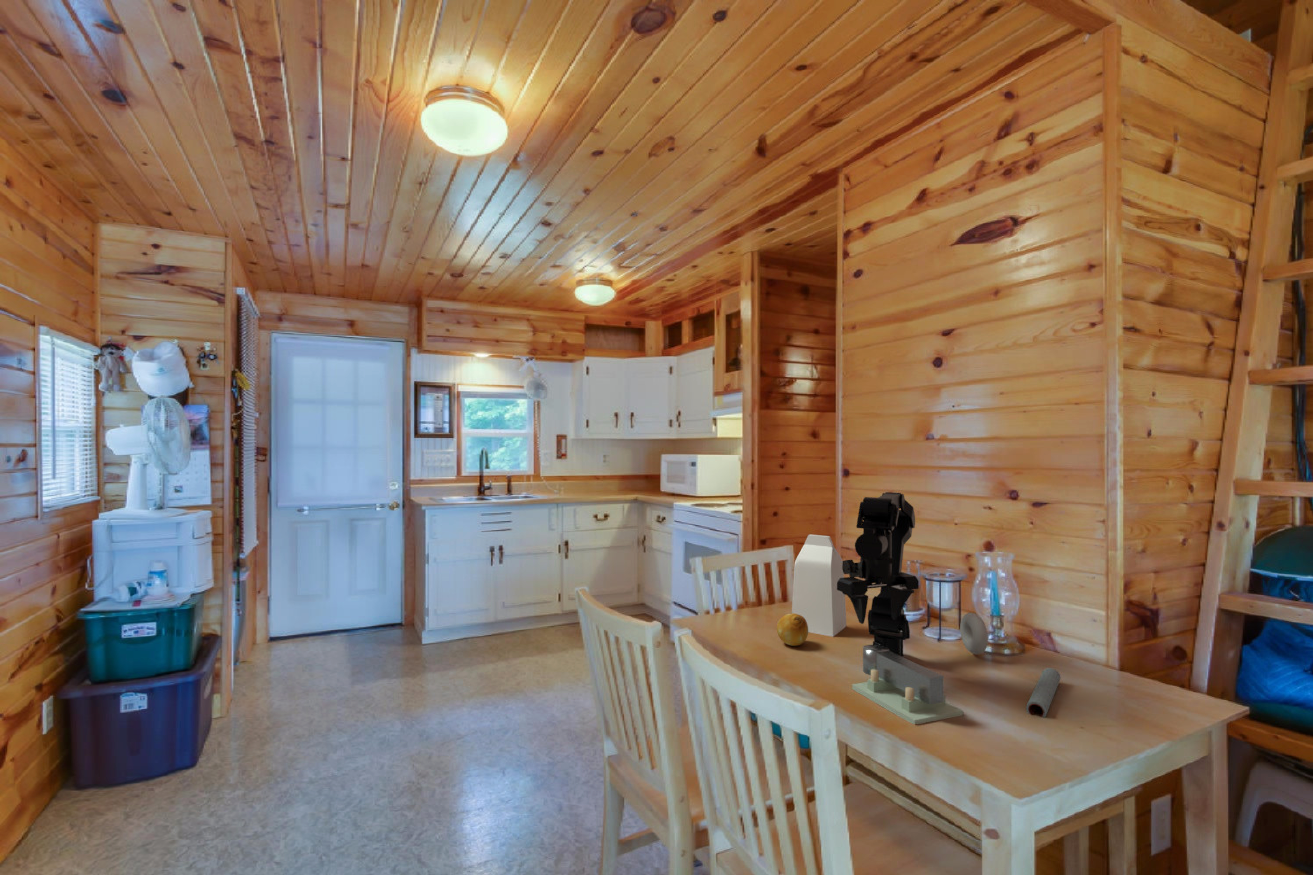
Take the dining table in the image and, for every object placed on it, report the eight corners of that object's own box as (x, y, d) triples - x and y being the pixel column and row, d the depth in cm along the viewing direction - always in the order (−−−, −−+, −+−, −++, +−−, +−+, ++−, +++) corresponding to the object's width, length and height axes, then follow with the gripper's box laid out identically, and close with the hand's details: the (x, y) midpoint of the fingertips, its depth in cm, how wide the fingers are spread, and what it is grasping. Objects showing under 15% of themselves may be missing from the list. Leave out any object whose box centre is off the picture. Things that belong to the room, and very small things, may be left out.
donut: (957, 646, 160) (957, 607, 160) (971, 646, 160) (971, 607, 160) (976, 660, 150) (976, 619, 150) (990, 660, 150) (990, 619, 150)
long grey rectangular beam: (877, 665, 138) (877, 643, 138) (947, 700, 120) (947, 675, 120) (857, 669, 137) (857, 646, 137) (925, 705, 118) (925, 678, 118)
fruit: (812, 650, 158) (812, 618, 158) (779, 649, 158) (779, 618, 158) (804, 639, 166) (805, 609, 166) (774, 639, 166) (774, 609, 166)
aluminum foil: (1042, 681, 139) (1042, 665, 139) (1078, 688, 135) (1078, 673, 134) (1025, 717, 121) (1025, 699, 121) (1066, 727, 117) (1066, 709, 117)
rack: (897, 681, 137) (897, 658, 137) (963, 715, 121) (963, 689, 121) (852, 688, 133) (852, 665, 133) (914, 725, 116) (914, 698, 116)
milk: (790, 628, 175) (791, 536, 175) (806, 618, 184) (806, 531, 184) (832, 636, 168) (833, 540, 168) (846, 626, 178) (846, 534, 178)
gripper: (886, 544, 153) (886, 608, 153) (822, 549, 146) (822, 615, 146) (920, 552, 142) (920, 620, 142) (853, 557, 135) (852, 629, 136)
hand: (877, 621), depth 142 cm, fingers open, 9 cm apart
